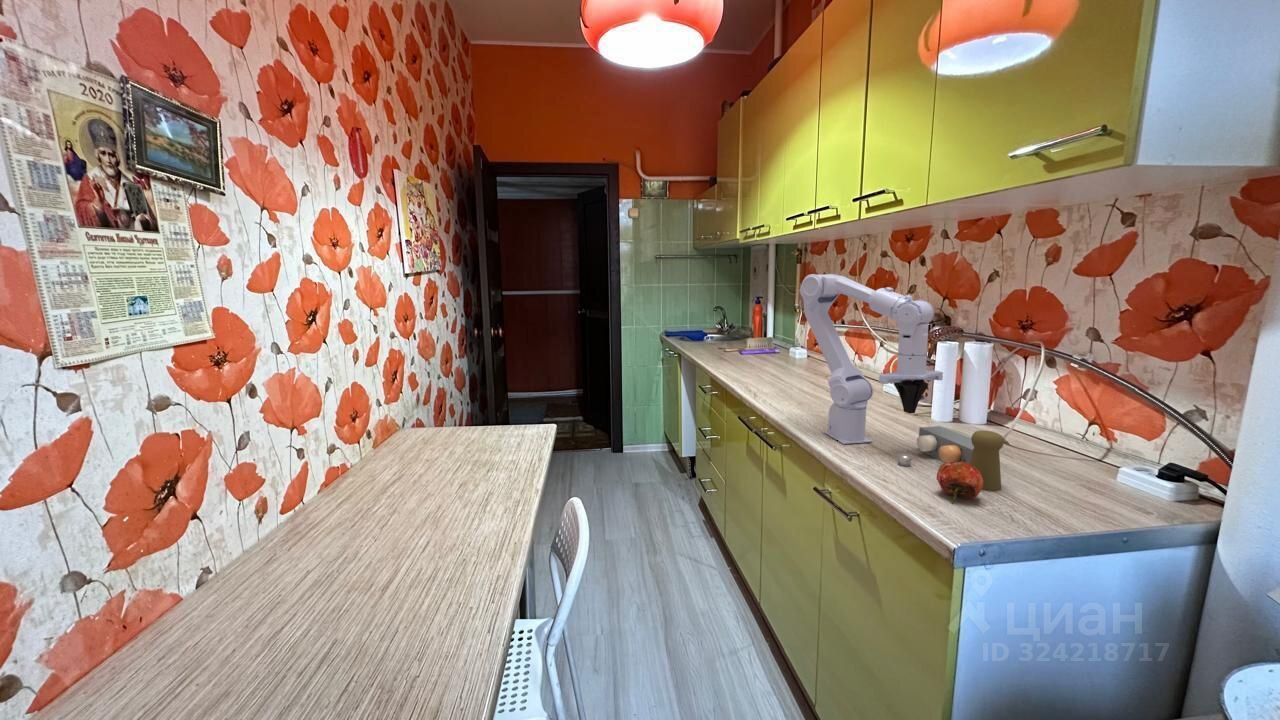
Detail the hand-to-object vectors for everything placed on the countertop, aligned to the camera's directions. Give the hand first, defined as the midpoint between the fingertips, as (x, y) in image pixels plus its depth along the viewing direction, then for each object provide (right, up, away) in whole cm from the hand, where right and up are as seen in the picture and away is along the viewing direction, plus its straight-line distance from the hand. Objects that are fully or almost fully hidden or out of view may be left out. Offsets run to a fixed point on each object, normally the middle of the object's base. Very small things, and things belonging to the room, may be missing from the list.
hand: (909, 412), depth 113 cm
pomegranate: (-2, -14, -20) cm, 25 cm away
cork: (+7, -13, -15) cm, 21 cm away
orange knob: (+9, -10, -6) cm, 14 cm away
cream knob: (+8, -9, +1) cm, 12 cm away
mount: (+9, -11, -2) cm, 14 cm away
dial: (-3, -11, -4) cm, 12 cm away
